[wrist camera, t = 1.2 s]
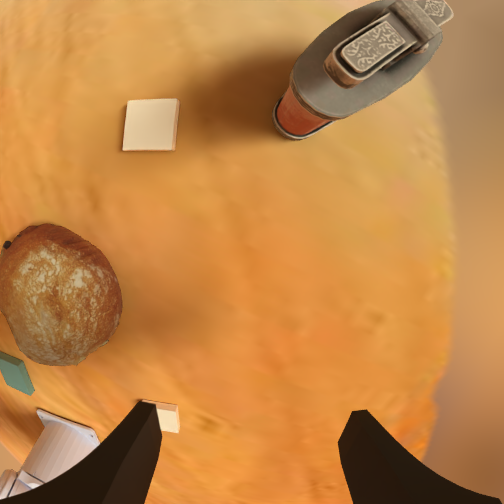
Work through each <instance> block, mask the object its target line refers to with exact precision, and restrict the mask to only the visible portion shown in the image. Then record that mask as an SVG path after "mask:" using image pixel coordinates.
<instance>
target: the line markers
mask: <svg viewBox="0 0 504 504" xmlns="http://www.w3.org/2000/svg"><path fill="white" fill-rule="evenodd" d="M179 107H180V101H179V100H178V99H177V98H175V99H147V100H131V101H128V105H127V112H126V120H125V129H124V140H123V150H124V151H175V145H176V134H177V124H178V115H179ZM0 370H1V373H2V375H3V377H4V379H5V382H6V384H7V385H9V386H11V387H13V388H15V389H17V390H19V391H21V392H23V393H25V394H28V395H30V396H31V395H32V393H33V392H34V391H35V390H34V387H33V385H32V383H31V380H30V378H29V375H28V373H27V370H26V368H25V365H24V362H23V361H22V360H19V359H17V358H14V357H12V356H10V355H7V354H5V353H3V352H0ZM142 402H148V403H153V404H156V408H157V413H158V418H159V423H160V428H161V430H163V431H169V432H175V433H179V429H180V423H179V415H178V406H177V405H173V404H167V403H161V402H155V401H149V400H144V399H143V400H142Z"/></svg>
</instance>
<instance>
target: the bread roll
mask: <svg viewBox="0 0 504 504" xmlns="http://www.w3.org/2000/svg"><path fill="white" fill-rule="evenodd" d="M0 310H1V312H2V313H3V314H4V315H5V317H6V319H7V322H8V324H9V326H10V328H11V331H12V333H13V335H14V338H15V340H16V343H17V345H18V347H19V349H20V351H21V352H23V353H24V354H25V355H26V356H27V357H28V358H30V359H31V360H33V361H35V362H37V363H39V364H45V365H51V366H66V365H76V366H77V365H78V363H80V362H81V361H82V360H84V359H85V358H86V357H87V356H88V354H89V353H91V352H93V351H96V350H97V348H98V347H100V346H103V345H105V344H106V343H107V342H108V341H109V340H108V339H109V338H110V337H111V336H112V335H113V334H114V332H115V330H116V327H117V326H118V325H119V319H120V316H121V312H122V297H121V290H120V287H119V283H118V280H117V278H116V275H115V273H114V271H113V269H112V267H111V265H110V263H109V261H108V260H107V258H106V257H105V256H104V254H103V253H102V252H101V250H99V249H98V248H97V247H96V246H94V245H92V244H91V243H90V242H89V241H86V240H84V239H83V238H82V237H81V236H79V235H77V234H75V233H73V232H71V231H70V230H68V229H66V228H64V227H62V226H55V225H52V224H42V225H40V226H29V227H27V228H26V229H25V230H23V231H22V232H20V234H19V235H17V237H16V238H15V240H14V241H13V242H12V243H11V242H10V241H6V242H5V243H4V245H3V247H2V251H1V254H0Z"/></svg>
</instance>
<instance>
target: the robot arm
mask: <svg viewBox="0 0 504 504" xmlns="http://www.w3.org/2000/svg"><path fill="white" fill-rule="evenodd" d="M37 414H38V416H39V418H40V419H41V421H42V423H43V425H44V427H45V428H44V430H43V431H42V433H41V435H40V436H39V438H38V440H37V441H36V443H35V445H34V446H33V448H32V450H31V451H30V453H29V455H28V457H27V458H26V460H25V462H24V464H23V465H22V467H21V469H20V471H18V472H15V471H14V470H13V469H11V470H5V471H4V472H3V474H2V475H1V477H0V504H144V503H145V499H146V496H147V493H148V490H149V487H150V483H151V480H152V477H153V474H154V471H155V467H156V464H157V461H158V457H159V452H160V446H161V440H162V433H161V428H160V423H159V418H158V413H157V408H156V404H153V403H148V402H142V401H139V402H138V403H137V404H136V405H135V406H134V408H133V409H132V410H131V411H130V412H129V414H128V415H127V416H126V417H125V418H124V419H123V421H122V422H121V423H120V424H119V425H118V426H117V427H116V428H115V429H114V430H113V431H112V432H111V433H110V435H109V436H108V437H107V438H106V439H105V440H104V441H103V442H102V443H100V442H99V440H98V438H97V435H96V433H95V431H94V430H93V429H91V428H89V427H86V426H83V425H80V424H77V423H74V422H71V421H68V420H65V419H63V418H60V417H58V416H55V415H52V414H50V413H48V412H45V411H43V410H40V409H38V410H37ZM338 447H339V454H340V460H341V465H342V468H343V471H344V475H345V478H346V481H347V484H348V488H349V491H350V494H351V497H352V501H353V504H502V503H501V501H500V499H499V498H495V497H490V496H486V495H482V494H479V493H476V492H473V491H471V490H468V489H465V488H463V487H461V486H459V485H456V484H455V483H453V482H451V481H449V480H447V479H445V478H443V477H441V476H440V475H438V474H436V473H435V472H434V471H432V470H431V469H429V468H428V467H426V466H425V465H424V464H423V463H421V462H420V461H419V460H418V459H416V458H415V457H414V456H413V455H412V454H410V453H409V452H408V451H407V450H406V449H405V448H404V447H403V446H402V445H400V444H399V443H398V442H397V441H396V440H395V439H394V438H393V437H392V436H391V435H390V434H389V433H388V432H387V431H386V430H385V428H384V427H383V426H382V425H381V424H380V423H379V422H378V421H377V420H376V419H375V418H374V417H373V416H372V415H371V414H370V413H369V412H368V411H367V410H359V411H352V413H351V415H350V418H349V420H348V422H347V424H346V426H345V428H344V430H343V432H342V435H341V437H340V439H339V441H338Z"/></svg>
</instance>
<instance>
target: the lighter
mask: <svg viewBox="0 0 504 504" xmlns="http://www.w3.org/2000/svg"><path fill="white" fill-rule="evenodd" d="M452 17H453V11H452V9H451V8H450V7H449V5H448V4H447V3H446V2H445V1H444V0H380V1H375V2H373V3H370V4H368V5H365V6H363V7H360V8H358V9H356V10H354V11H351V12H349V13H347V14H346V15H345V16H343V17H342V18H340V19H339V20H338V21H336V22H335V23H333V24H332V25H331V26H329V27H328V28H327V29H325V30H324V31H323V32H322V33H321V34H320V35H319V36H318V37H317V38H316V39H315V40H314V41H313V42H312V43H311V44H310V45H309V46H308V48H307V49H306V50H305V51H304V52H303V53H302V54H301V55H300V56H299V57H298V59H297V61H296V63H295V65H294V67H293V69H292V71H291V73H290V86H289V88H288V89H287V91H286V92H285V93H284V94H283V95H282V97H281V98H280V99H279V100H278V102H277V103H276V105H275V107H274V109H273V111H272V120H273V124H274V126H275V128H276V129H277V130H278V132H279V133H281V134H282V135H283V136H284V137H286V138H289V139H291V140H302V139H306V138H307V137H309V136H311V135H313V134H315V133H317V132H318V131H320V130H322V129H324V128H326V127H327V126H329V125H331V124H333V123H334V122H335V121H337V120H340V119H344V118H346V117H348V116H350V115H352V114H354V113H356V112H358V111H360V110H362V109H364V108H366V107H368V106H370V105H372V104H374V103H376V102H378V101H380V100H382V99H384V98H386V97H387V96H388V95H390V94H391V93H393V92H394V91H396V90H397V89H399V88H400V87H402V86H403V85H405V84H406V83H408V82H409V81H411V80H412V79H413V78H414V77H415V76H416V75H417V74H418V73H419V72H420V70H421V69H422V68H423V67H424V66H425V65H426V64H427V63H428V62H429V61H430V60H431V58H432V57H433V55H434V54H435V52H436V51H437V49H438V48H439V46H440V44H441V43H442V39H443V36H442V30H441V28H440V25H442V24H444V23H445V22H447V21H448V20H450V19H451V18H452Z"/></svg>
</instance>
